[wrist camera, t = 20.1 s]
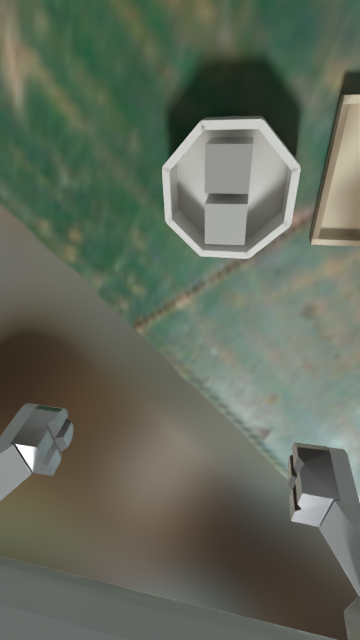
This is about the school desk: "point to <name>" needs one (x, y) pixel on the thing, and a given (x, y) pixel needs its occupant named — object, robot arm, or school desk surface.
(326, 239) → the tray
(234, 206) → the grey cube
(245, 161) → the grey rectangular block
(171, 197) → the bowl
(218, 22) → the school desk surface
